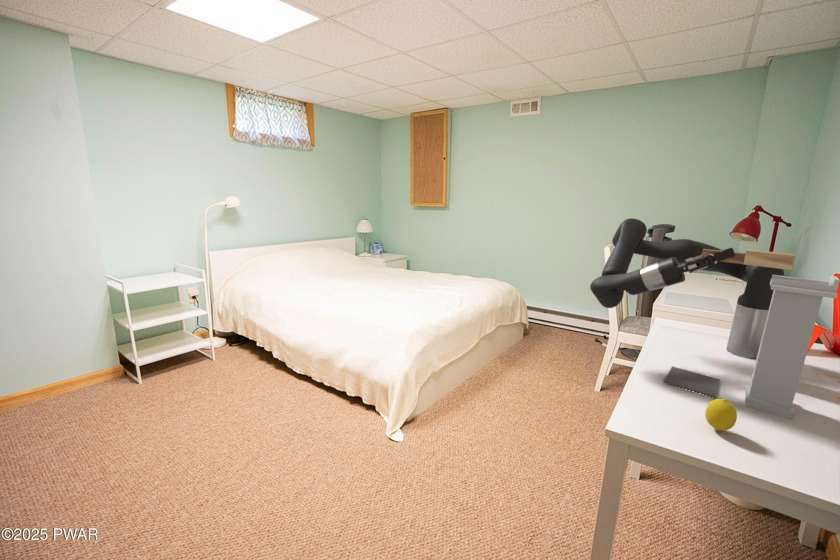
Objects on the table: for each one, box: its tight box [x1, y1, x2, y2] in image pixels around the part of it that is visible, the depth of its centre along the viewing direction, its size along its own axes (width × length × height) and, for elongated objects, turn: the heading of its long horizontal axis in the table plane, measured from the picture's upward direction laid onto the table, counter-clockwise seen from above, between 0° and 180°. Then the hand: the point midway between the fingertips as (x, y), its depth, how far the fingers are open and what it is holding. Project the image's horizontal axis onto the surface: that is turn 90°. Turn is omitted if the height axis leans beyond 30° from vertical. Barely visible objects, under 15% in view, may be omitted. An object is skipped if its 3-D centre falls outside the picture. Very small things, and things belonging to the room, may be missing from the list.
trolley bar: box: [701, 249, 796, 271], centre depth 98 cm, size 4×18×4 cm, turn 49°
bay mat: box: [663, 366, 721, 400], centre depth 111 cm, size 14×12×1 cm
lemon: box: [704, 398, 738, 432], centre depth 87 cm, size 6×6×8 cm
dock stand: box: [744, 275, 840, 420], centre depth 96 cm, size 11×11×35 cm
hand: (733, 251), depth 100 cm, fingers closed on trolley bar, 2 cm apart
